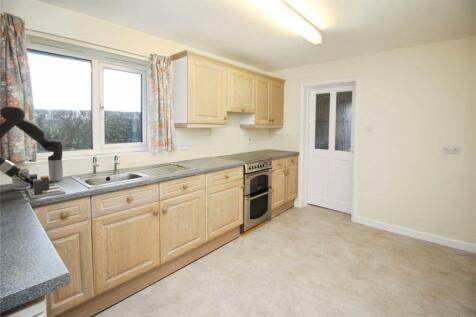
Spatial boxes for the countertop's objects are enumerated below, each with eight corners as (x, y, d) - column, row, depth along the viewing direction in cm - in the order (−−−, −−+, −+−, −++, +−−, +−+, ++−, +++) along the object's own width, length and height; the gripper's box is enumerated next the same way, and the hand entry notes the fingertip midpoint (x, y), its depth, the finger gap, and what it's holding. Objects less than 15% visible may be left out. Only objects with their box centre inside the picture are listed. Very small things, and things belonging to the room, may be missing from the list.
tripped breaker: (41, 188, 175) (40, 176, 174) (48, 188, 178) (47, 175, 177) (42, 189, 172) (41, 176, 171) (49, 189, 175) (48, 176, 174)
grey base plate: (26, 189, 179) (25, 174, 178) (57, 186, 191) (56, 171, 190) (31, 198, 159) (29, 181, 158) (65, 193, 171) (64, 177, 170)
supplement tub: (28, 189, 181) (26, 168, 179) (10, 190, 177) (9, 169, 175) (32, 186, 190) (30, 166, 188) (15, 187, 185) (13, 167, 184)
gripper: (14, 165, 158) (40, 181, 168) (13, 162, 167) (38, 178, 177) (3, 174, 155) (31, 190, 165) (3, 171, 164) (29, 187, 174)
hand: (34, 184), depth 171 cm, fingers closed
